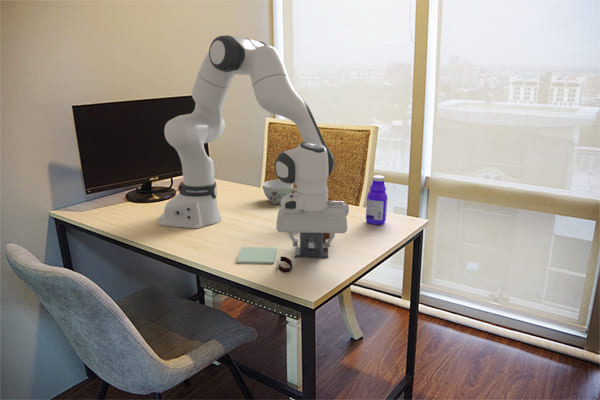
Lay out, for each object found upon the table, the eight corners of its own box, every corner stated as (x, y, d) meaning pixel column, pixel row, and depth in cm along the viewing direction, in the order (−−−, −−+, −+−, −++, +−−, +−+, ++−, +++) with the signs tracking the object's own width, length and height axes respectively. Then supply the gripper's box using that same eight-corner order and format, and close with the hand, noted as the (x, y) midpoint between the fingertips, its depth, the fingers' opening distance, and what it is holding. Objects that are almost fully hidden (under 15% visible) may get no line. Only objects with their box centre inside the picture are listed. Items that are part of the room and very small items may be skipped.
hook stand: (293, 270, 136) (293, 237, 133) (295, 249, 150) (295, 219, 148) (328, 270, 136) (329, 238, 133) (327, 250, 150) (328, 219, 147)
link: (301, 254, 138) (301, 234, 137) (302, 251, 140) (302, 231, 138) (320, 255, 138) (321, 234, 136) (320, 252, 140) (321, 231, 138)
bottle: (387, 221, 175) (390, 175, 170) (383, 226, 170) (386, 179, 165) (368, 218, 178) (370, 173, 173) (363, 223, 173) (366, 177, 168)
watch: (276, 263, 141) (275, 252, 140) (292, 263, 141) (292, 251, 140) (276, 275, 134) (276, 263, 133) (293, 274, 134) (293, 262, 133)
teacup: (256, 203, 195) (256, 185, 193) (272, 196, 206) (271, 178, 204) (289, 209, 189) (289, 189, 186) (303, 200, 200) (303, 182, 197)
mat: (236, 263, 141) (236, 261, 140) (242, 248, 151) (242, 246, 151) (273, 263, 140) (273, 262, 140) (276, 249, 151) (276, 247, 150)
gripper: (348, 197, 137) (346, 242, 141) (277, 196, 138) (277, 241, 142) (349, 204, 131) (348, 251, 135) (275, 203, 132) (275, 249, 136)
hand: (311, 246), depth 139 cm, fingers open, 8 cm apart
